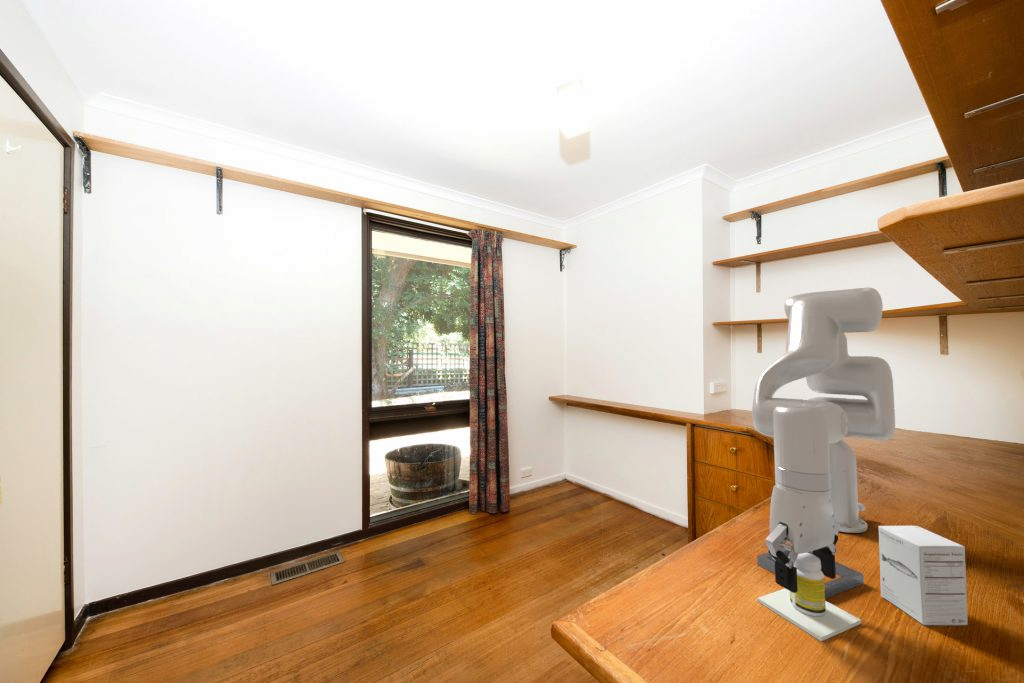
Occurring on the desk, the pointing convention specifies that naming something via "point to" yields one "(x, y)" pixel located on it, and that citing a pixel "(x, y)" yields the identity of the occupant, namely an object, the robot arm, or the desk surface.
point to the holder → (831, 587)
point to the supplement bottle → (809, 586)
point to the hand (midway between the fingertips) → (805, 581)
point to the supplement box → (923, 575)
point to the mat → (814, 625)
